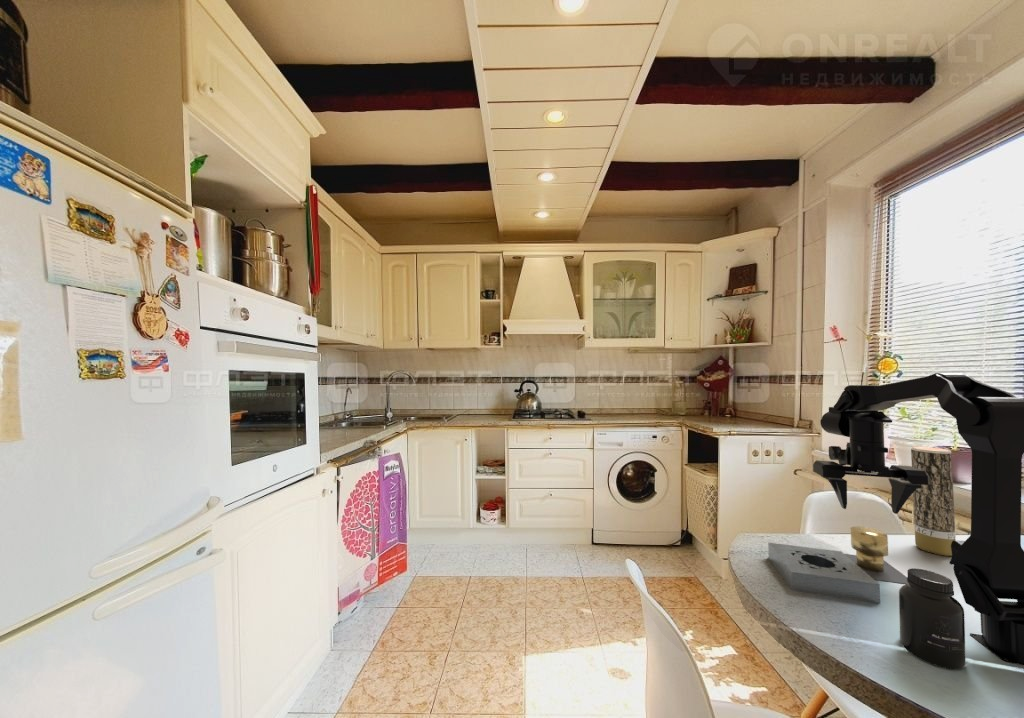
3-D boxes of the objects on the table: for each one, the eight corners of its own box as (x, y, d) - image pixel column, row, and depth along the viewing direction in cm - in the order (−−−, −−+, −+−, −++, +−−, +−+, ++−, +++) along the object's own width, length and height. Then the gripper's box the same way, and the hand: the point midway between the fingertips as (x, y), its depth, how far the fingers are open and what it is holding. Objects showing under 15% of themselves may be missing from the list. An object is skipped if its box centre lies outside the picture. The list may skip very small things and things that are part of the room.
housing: (880, 606, 71) (879, 584, 71) (792, 592, 75) (791, 571, 75) (841, 569, 84) (841, 551, 84) (768, 559, 88) (768, 542, 88)
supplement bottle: (948, 676, 54) (944, 590, 55) (889, 643, 61) (886, 567, 61) (978, 666, 56) (974, 583, 56) (918, 636, 62) (915, 562, 63)
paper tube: (941, 546, 96) (936, 447, 97) (965, 558, 89) (959, 452, 90) (908, 543, 98) (903, 445, 99) (928, 555, 91) (924, 450, 92)
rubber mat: (918, 588, 77) (917, 585, 77) (857, 579, 80) (857, 576, 80) (881, 560, 88) (881, 558, 88) (829, 554, 91) (829, 551, 91)
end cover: (896, 576, 80) (894, 539, 80) (861, 571, 82) (859, 535, 82) (878, 562, 86) (877, 528, 86) (846, 558, 88) (845, 525, 88)
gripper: (895, 437, 90) (897, 503, 89) (802, 433, 96) (804, 495, 95) (930, 445, 79) (933, 521, 79) (823, 440, 85) (825, 510, 85)
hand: (869, 510), depth 85 cm, fingers open, 9 cm apart
